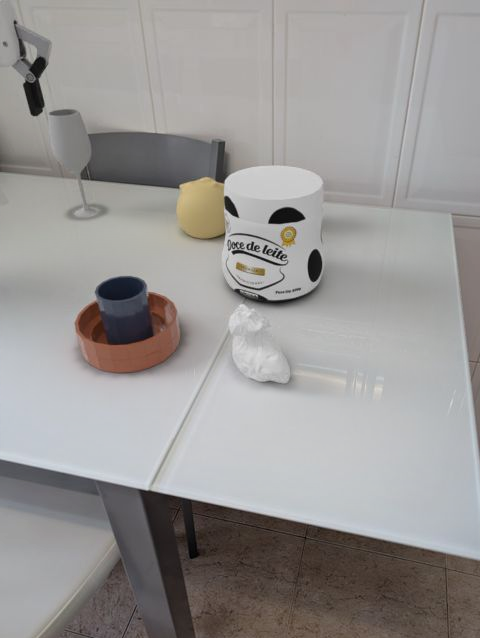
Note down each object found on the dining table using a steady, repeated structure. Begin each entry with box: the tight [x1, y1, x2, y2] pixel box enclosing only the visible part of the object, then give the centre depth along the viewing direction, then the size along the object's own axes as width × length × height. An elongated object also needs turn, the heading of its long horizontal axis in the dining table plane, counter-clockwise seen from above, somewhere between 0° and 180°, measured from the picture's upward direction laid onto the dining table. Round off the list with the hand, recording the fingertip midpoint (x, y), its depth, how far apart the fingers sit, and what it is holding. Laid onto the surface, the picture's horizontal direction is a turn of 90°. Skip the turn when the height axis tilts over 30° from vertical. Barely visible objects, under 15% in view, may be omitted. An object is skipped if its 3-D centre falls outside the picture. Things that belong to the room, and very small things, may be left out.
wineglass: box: [47, 108, 100, 218], centre depth 104 cm, size 8×8×21 cm
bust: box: [228, 303, 291, 385], centre depth 65 cm, size 12×8×11 cm
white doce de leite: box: [221, 164, 326, 303], centre depth 81 cm, size 17×17×18 cm
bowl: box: [74, 291, 181, 374], centre depth 71 cm, size 14×14×5 cm
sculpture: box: [175, 176, 226, 240], centre depth 100 cm, size 12×12×11 cm
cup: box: [94, 275, 155, 345], centre depth 70 cm, size 7×7×9 cm
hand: (0, 114), depth 66 cm, fingers open, 9 cm apart
